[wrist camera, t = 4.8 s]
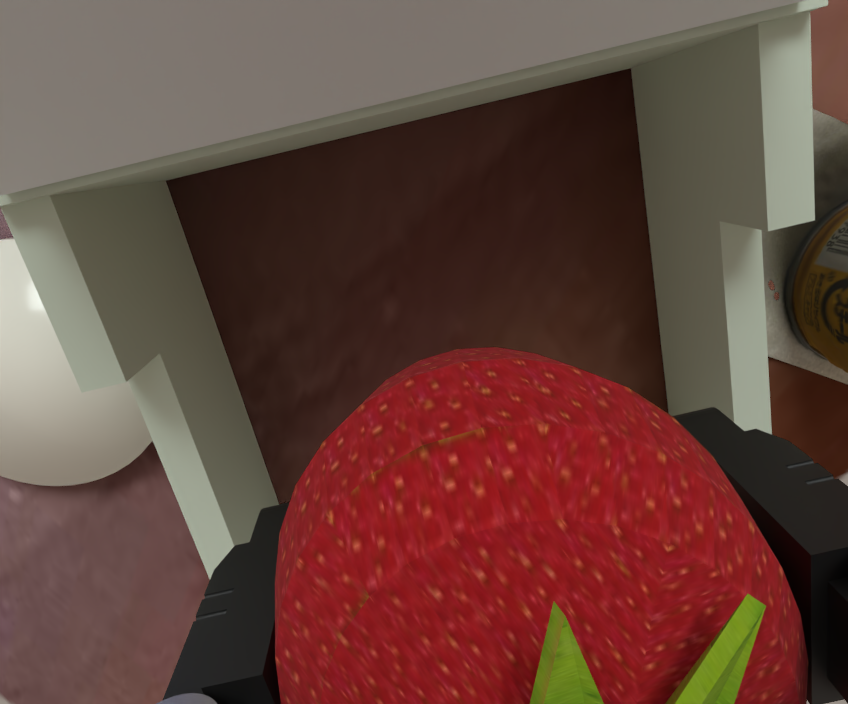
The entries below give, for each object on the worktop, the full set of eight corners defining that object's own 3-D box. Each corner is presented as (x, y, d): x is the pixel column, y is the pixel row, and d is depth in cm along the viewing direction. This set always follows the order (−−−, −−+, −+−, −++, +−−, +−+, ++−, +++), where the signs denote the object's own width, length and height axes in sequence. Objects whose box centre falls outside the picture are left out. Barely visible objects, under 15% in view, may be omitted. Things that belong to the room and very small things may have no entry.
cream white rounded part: (-133, 271, 18) (-156, 276, 18) (123, 209, 18) (111, 211, 18) (-15, 496, 21) (-30, 509, 20) (211, 444, 21) (205, 455, 20)
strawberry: (416, 616, 14) (481, 1583, 5) (255, 333, 12) (-293, 1193, 2) (660, 520, 14) (1272, 1386, 4) (546, 203, 11) (1433, 598, 2)
